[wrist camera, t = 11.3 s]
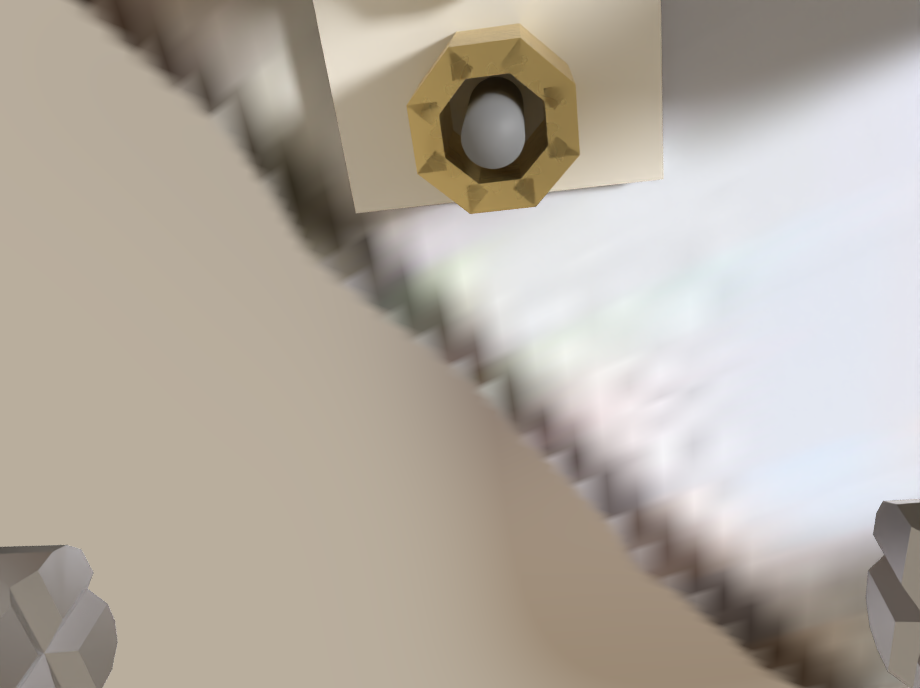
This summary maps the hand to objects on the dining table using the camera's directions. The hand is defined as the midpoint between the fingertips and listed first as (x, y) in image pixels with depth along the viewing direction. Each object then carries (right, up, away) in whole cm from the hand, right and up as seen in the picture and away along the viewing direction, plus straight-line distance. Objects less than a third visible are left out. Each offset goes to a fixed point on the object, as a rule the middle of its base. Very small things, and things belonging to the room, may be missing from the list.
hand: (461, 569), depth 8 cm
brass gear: (+1, +11, +21) cm, 24 cm away
